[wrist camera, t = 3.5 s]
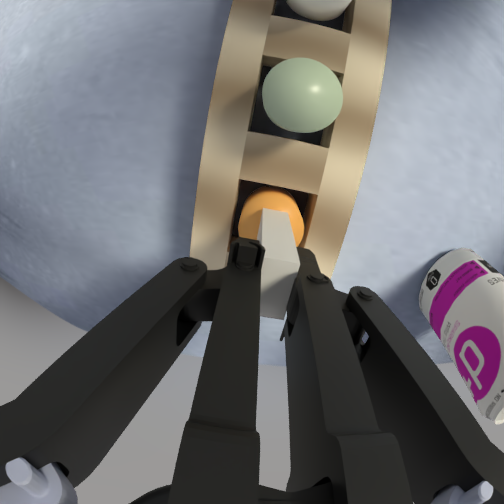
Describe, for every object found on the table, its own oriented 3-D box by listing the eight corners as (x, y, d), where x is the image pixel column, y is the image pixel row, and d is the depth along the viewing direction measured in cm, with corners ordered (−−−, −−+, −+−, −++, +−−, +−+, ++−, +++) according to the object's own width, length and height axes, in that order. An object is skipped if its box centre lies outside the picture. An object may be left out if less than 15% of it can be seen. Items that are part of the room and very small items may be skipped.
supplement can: (408, 321, 25) (468, 443, 11) (424, 247, 21) (529, 365, 8) (465, 309, 24) (532, 406, 10) (484, 242, 21) (581, 330, 7)
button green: (269, 65, 14) (270, 50, 11) (333, 79, 14) (349, 69, 11) (257, 124, 16) (255, 123, 13) (321, 138, 16) (334, 141, 13)
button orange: (247, 180, 19) (244, 191, 16) (303, 191, 19) (310, 204, 16) (238, 233, 21) (233, 252, 18) (291, 242, 21) (295, 264, 18)
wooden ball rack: (253, -44, 12) (252, -63, 9) (379, -14, 12) (393, -29, 9) (197, 258, 23) (188, 276, 20) (316, 279, 23) (322, 300, 20)
